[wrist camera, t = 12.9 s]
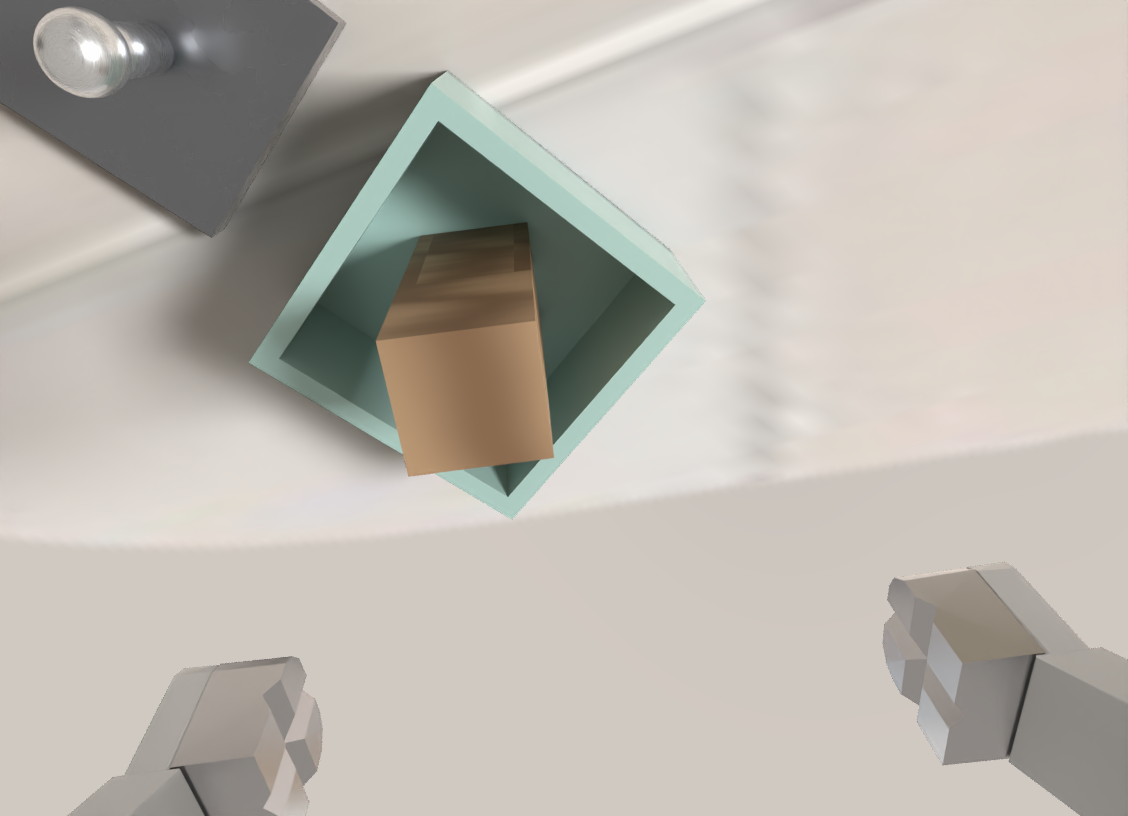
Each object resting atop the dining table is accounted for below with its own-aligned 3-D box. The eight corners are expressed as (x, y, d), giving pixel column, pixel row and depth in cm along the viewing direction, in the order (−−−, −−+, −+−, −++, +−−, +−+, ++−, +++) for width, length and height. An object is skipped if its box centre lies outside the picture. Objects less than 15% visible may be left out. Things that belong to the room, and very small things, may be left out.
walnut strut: (440, 335, 34) (408, 476, 24) (420, 235, 32) (375, 341, 22) (540, 322, 34) (554, 458, 24) (527, 222, 32) (535, 320, 22)
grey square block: (-18, 72, 29) (-175, 87, 22) (90, -180, 26) (-56, -249, 19) (224, 229, 32) (149, 282, 26) (346, 23, 29) (297, 22, 22)
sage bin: (296, 300, 34) (248, 362, 28) (447, 70, 30) (431, 82, 24) (511, 437, 38) (512, 519, 32) (670, 250, 34) (705, 300, 28)
